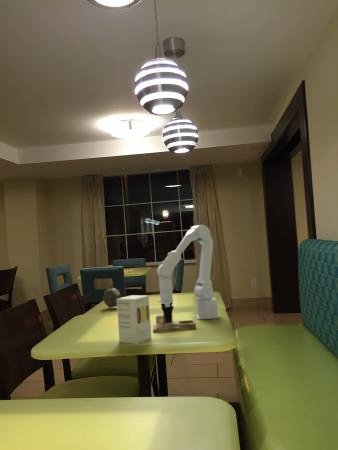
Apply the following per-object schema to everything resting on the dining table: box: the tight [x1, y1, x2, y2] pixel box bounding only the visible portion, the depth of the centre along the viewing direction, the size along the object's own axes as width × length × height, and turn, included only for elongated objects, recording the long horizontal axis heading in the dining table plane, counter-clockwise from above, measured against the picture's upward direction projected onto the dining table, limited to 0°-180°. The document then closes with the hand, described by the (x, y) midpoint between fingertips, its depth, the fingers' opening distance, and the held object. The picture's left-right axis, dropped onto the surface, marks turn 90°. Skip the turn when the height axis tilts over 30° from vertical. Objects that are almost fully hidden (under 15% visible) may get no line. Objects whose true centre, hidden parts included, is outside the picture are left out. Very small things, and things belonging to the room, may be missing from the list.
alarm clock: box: [102, 281, 122, 310], centre depth 215 cm, size 11×5×16 cm, turn 58°
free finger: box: [162, 311, 174, 324], centre depth 166 cm, size 4×4×5 cm
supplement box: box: [116, 294, 152, 345], centre depth 142 cm, size 10×9×17 cm
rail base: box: [152, 313, 197, 334], centre depth 155 cm, size 18×8×6 cm, turn 93°
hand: (168, 320), depth 166 cm, fingers open, 7 cm apart
